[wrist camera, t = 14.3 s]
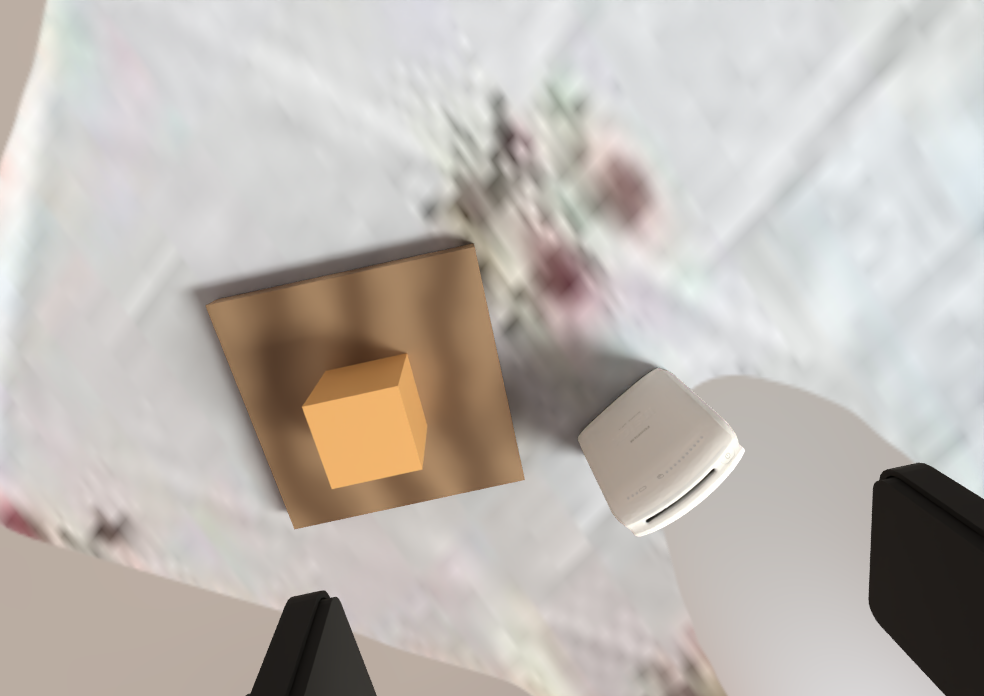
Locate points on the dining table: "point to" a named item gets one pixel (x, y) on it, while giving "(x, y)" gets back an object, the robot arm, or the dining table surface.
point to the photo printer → (658, 452)
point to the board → (366, 337)
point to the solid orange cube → (367, 421)
